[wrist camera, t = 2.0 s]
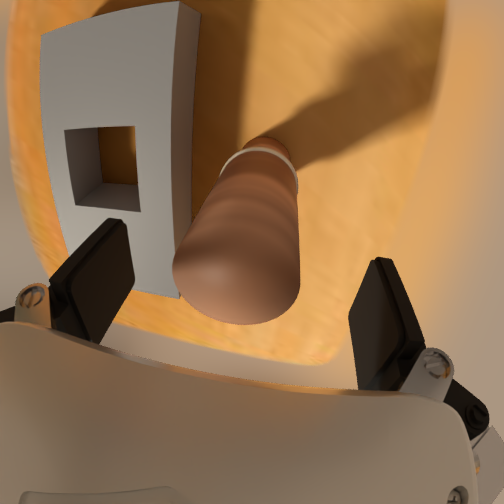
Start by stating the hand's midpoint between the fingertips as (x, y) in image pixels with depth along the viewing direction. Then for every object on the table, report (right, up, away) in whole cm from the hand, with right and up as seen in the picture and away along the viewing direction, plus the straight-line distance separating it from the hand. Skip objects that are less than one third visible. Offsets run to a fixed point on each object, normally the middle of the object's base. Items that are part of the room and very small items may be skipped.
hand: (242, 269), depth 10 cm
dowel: (+1, +7, +8) cm, 10 cm away
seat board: (-9, +8, +8) cm, 14 cm away
